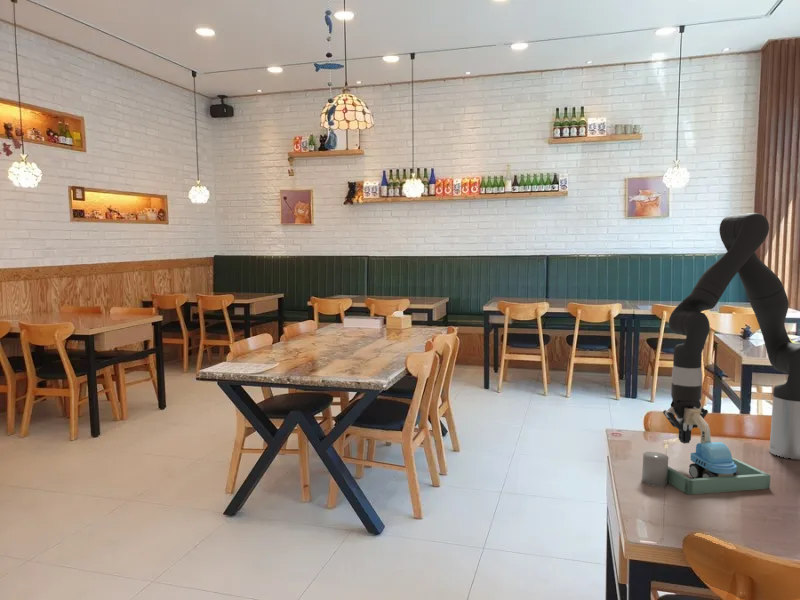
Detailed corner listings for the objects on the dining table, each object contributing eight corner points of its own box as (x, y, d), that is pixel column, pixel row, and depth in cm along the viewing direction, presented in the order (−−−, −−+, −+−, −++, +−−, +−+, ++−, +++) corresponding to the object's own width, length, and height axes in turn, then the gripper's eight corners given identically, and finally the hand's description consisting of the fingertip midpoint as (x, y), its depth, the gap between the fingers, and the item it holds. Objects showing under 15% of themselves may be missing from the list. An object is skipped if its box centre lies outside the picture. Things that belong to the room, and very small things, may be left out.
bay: (732, 469, 163) (733, 457, 162) (769, 488, 150) (770, 475, 150) (656, 475, 158) (657, 462, 158) (687, 494, 146) (688, 481, 145)
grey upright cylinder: (657, 476, 157) (659, 451, 157) (671, 485, 151) (673, 459, 151) (637, 478, 156) (638, 452, 155) (650, 487, 150) (652, 460, 150)
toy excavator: (701, 465, 166) (705, 405, 164) (743, 490, 149) (747, 423, 148) (673, 466, 165) (676, 406, 163) (712, 491, 148) (716, 424, 146)
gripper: (698, 377, 169) (696, 436, 170) (656, 380, 166) (655, 440, 168) (717, 383, 161) (714, 445, 163) (674, 386, 159) (672, 449, 160)
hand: (684, 442), depth 165 cm, fingers closed
